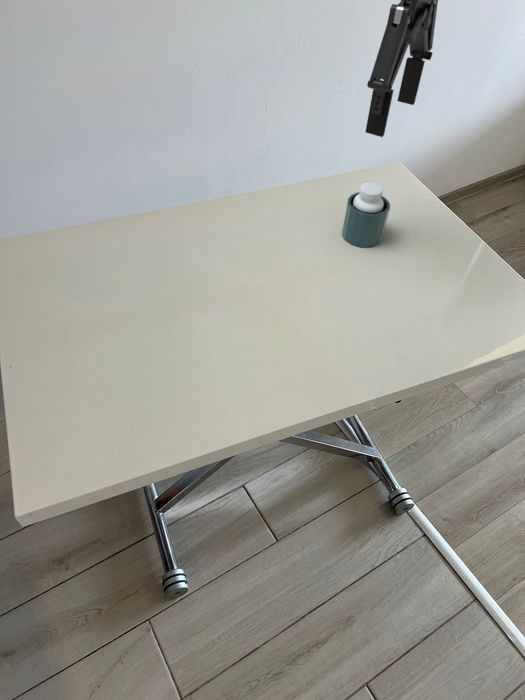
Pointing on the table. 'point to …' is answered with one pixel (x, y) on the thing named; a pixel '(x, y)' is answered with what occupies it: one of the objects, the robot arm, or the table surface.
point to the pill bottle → (369, 198)
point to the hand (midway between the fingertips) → (390, 117)
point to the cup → (364, 225)
